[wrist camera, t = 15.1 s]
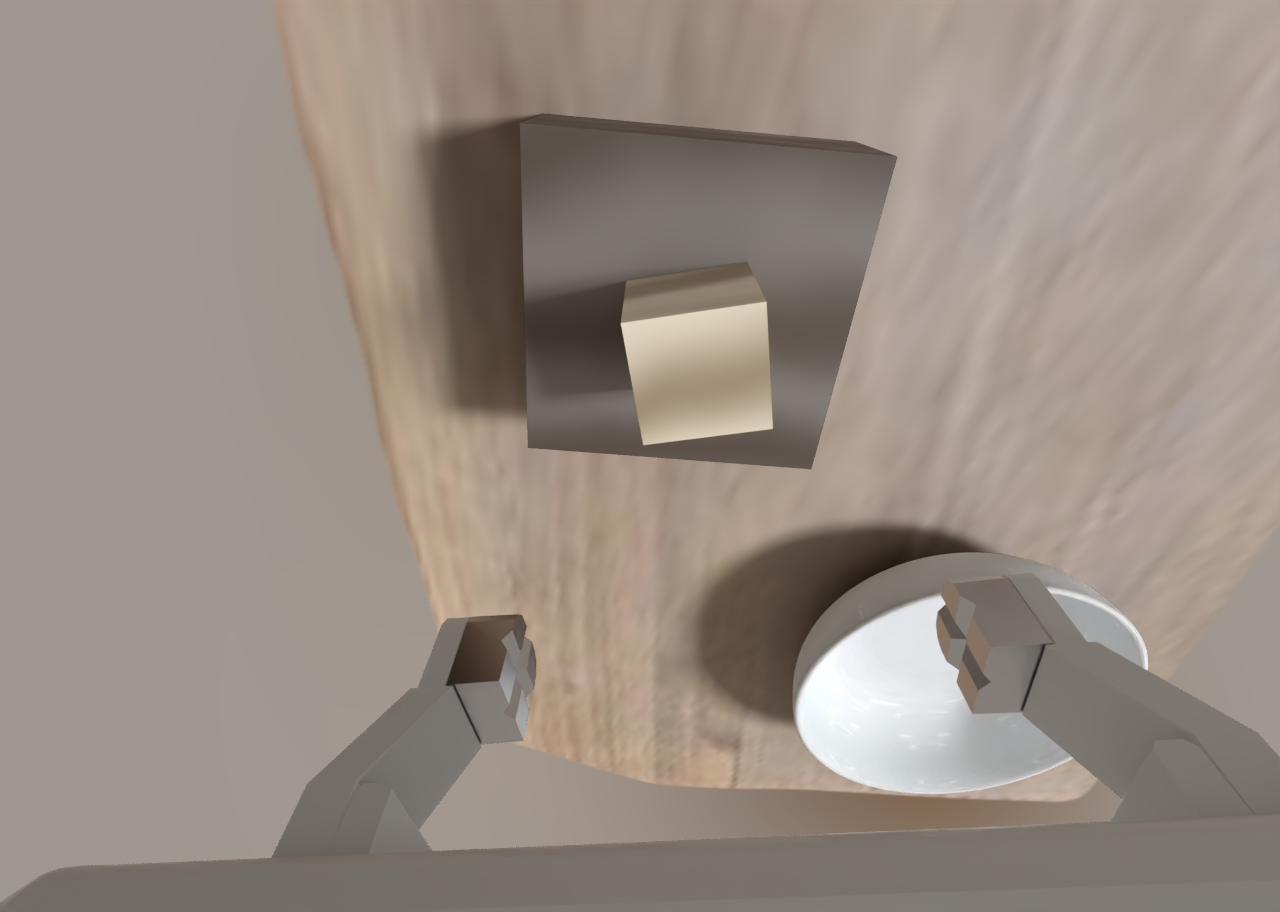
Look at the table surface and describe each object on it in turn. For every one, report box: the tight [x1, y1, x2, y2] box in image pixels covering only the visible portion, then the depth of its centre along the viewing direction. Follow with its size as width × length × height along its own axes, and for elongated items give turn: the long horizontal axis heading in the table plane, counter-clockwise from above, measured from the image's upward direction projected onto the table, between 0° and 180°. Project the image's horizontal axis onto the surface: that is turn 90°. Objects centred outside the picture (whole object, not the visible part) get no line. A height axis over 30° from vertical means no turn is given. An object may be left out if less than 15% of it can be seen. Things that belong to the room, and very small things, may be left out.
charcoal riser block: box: [520, 114, 897, 469], centre depth 29 cm, size 14×14×6 cm
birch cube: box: [621, 262, 773, 445], centre depth 24 cm, size 5×5×5 cm
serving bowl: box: [793, 552, 1148, 794], centre depth 41 cm, size 21×21×7 cm
